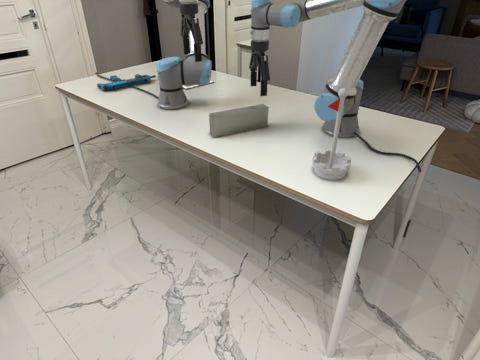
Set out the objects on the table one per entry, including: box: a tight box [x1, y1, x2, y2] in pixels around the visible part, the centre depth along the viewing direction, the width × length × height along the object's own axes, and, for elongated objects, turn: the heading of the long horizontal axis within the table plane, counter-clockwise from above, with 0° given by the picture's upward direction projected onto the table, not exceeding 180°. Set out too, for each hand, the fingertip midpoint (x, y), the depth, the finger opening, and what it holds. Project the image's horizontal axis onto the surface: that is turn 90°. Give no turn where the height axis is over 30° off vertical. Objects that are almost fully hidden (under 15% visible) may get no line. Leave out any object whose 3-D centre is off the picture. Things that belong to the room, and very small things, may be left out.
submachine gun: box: [96, 73, 157, 92], centre depth 207 cm, size 34×4×25 cm
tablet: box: [183, 80, 214, 90], centre depth 213 cm, size 32×20×1 cm, turn 41°
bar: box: [208, 103, 269, 138], centre depth 148 cm, size 26×5×9 cm, turn 115°
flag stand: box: [312, 88, 352, 181], centre depth 113 cm, size 13×13×30 cm
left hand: (192, 57), depth 147 cm, fingers open, 13 cm apart
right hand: (258, 90), depth 150 cm, fingers open, 13 cm apart
